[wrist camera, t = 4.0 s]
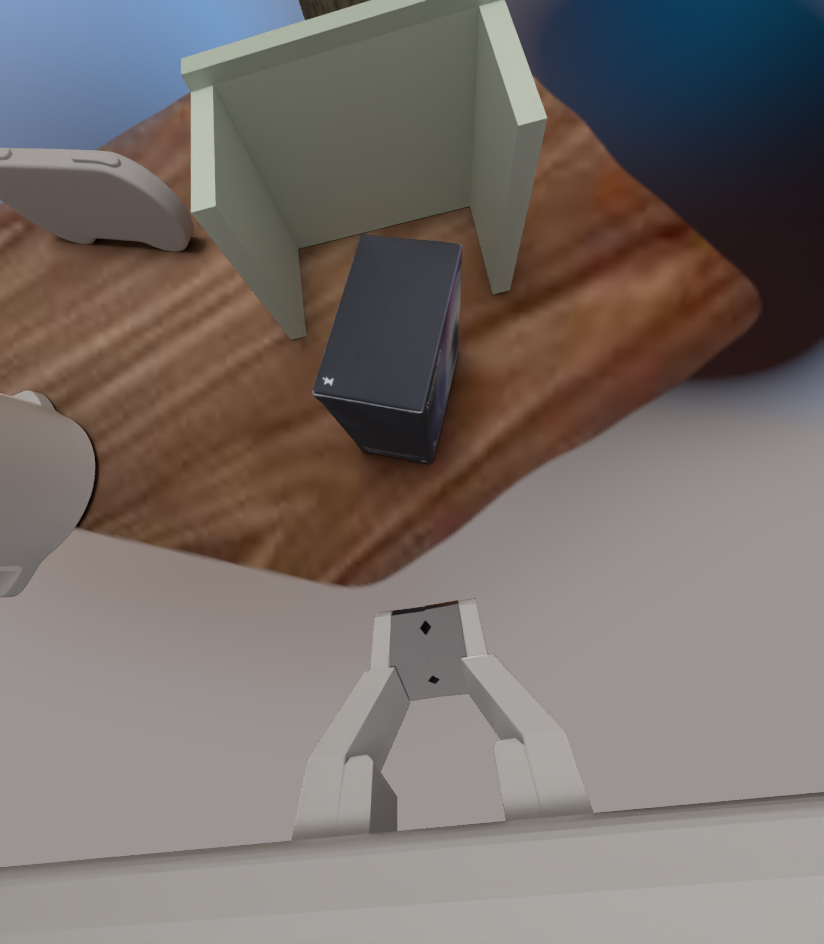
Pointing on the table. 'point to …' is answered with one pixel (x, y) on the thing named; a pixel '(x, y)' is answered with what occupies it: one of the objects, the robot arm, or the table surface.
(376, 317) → the small box
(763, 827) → the robot arm
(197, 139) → the rack
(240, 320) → the table surface
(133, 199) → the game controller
